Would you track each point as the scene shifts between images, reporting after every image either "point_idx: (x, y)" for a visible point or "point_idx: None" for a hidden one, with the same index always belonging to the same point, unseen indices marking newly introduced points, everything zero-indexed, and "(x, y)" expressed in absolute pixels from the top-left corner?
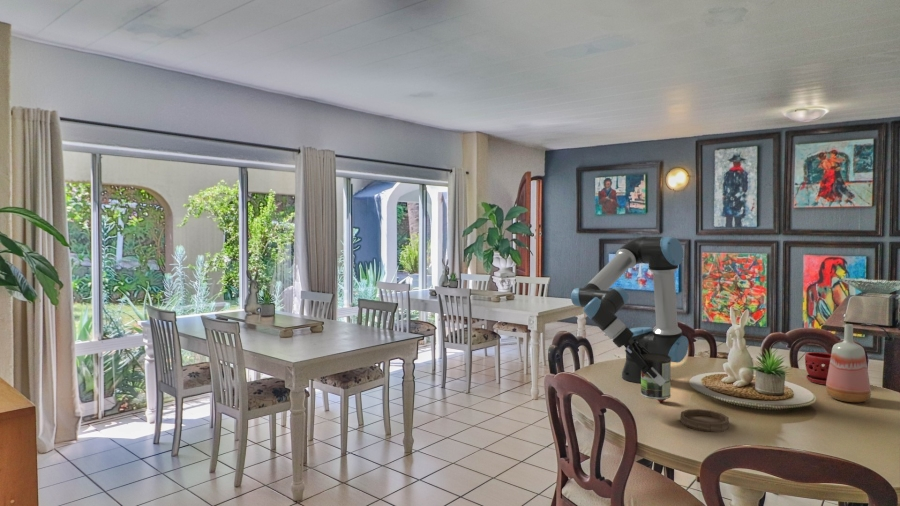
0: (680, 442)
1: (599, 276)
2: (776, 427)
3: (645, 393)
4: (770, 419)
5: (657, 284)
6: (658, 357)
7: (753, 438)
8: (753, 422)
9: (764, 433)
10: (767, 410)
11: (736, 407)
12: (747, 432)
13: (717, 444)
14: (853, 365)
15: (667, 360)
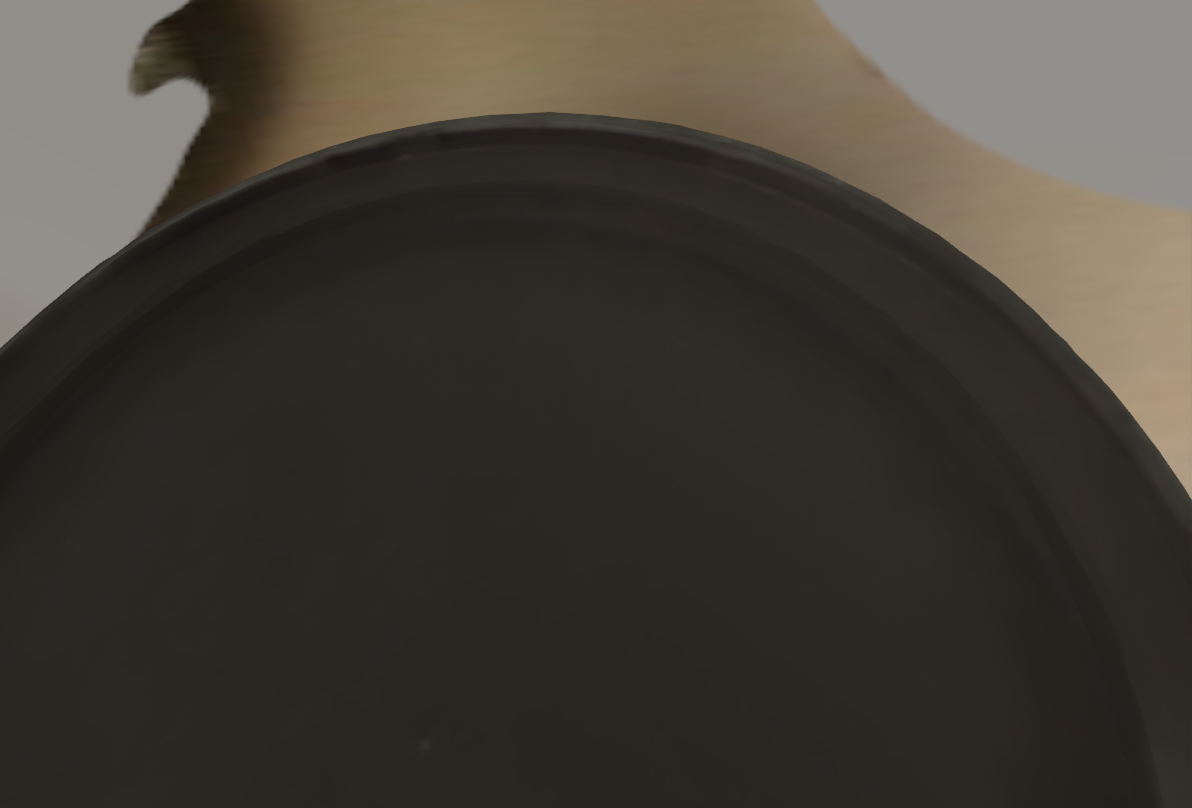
0: (1155, 387)
1: None
2: (491, 5)
3: None
4: (364, 41)
5: None
6: (432, 561)
7: (743, 56)
8: (451, 94)
9: (623, 30)
10: (207, 72)
11: (187, 202)
12: (652, 92)
13: (996, 183)
14: None
15: (776, 160)
